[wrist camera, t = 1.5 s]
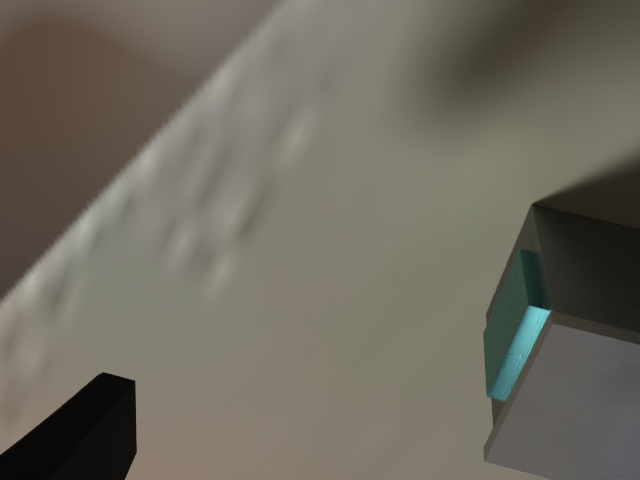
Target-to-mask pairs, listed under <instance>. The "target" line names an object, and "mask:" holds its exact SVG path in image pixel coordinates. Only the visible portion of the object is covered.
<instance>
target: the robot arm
mask: <svg viewBox="0 0 640 480" xmlns="http://www.w3.org/2000/svg"><path fill="white" fill-rule="evenodd" d="M136 453H137V443H136V394H135V381H134V380H130V379H127V378H123V377H119V376H115V375H112V374H108V373H104V372H103V373H101V374H99V375H97V376H96V377H95V378H94V379H93V380H92V381H90V382H89V383H88V384H87V385H86V386H85V387H83V388H82V389H81V390H80V391H79V392H78V393H76V394H75V395H74V396H73V397H72V398H71V399H69V400H68V401H67V402H66V403H65V404H63V405H62V406H61V407H60V408H59V409H57V410H56V411H55V412H54V413H53V414H51V415H50V416H49V417H48V418H46V419H45V420H44V421H43V422H42V423H40V424H39V425H38V426H37V427H35V428H34V429H33V430H32V431H30V432H29V433H28V434H27V435H25V436H24V437H23V438H22V439H20V440H19V441H18V442H16V443H15V444H14V445H13V446H11V447H10V448H9V449H7V450H6V451H5V452H4V453H2V454H1V455H0V480H125V478H126V475H127V473H128V471H129V469H130V466H131V464H132V462H133V460H134V457H135V455H136Z"/></svg>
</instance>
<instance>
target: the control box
mask: <svg viewBox="0 0 640 480" xmlns="http://www.w3.org/2000/svg"><path fill="white" fill-rule="evenodd" d="M486 321H487V326H486V329H485V331H484V333H483V337H484V355H485V374H486V392H487V397H491V400H492V416H493V429H492V431H491V433H490V435H489V437H488V439H487V441H486V443H485V445H484V461H486V462H489V463H493V464H497V465H501V466H504V467H508V468H512V469H516V470H519V471H523V472H527V473H530V474H534V475H538V476H542V477H545V478H549V479H553V480H640V230H638V229H634V228H630V227H625V226H621V225H617V224H613V223H608V222H604V221H600V220H595V219H591V218H587V217H582V216H578V215H574V214H570V213H565V212H561V211H557V210H552V209H548V208H544V207H540V206H535V205H531V207H530V209H529V212H528V214H527V217H526V219H525V222H524V224H523V226H522V229H521V231H520V234H519V236H518V238H517V241H516V243H515V246H514V248H513V251H512V253H511V255H510V258H509V260H508V263H507V265H506V267H505V270H504V272H503V275H502V277H501V280H500V282H499V284H498V287H497V289H496V292H495V294H494V297H493V299H492V301H491V304H490V306H489V309H488V311H487V313H486Z"/></svg>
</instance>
